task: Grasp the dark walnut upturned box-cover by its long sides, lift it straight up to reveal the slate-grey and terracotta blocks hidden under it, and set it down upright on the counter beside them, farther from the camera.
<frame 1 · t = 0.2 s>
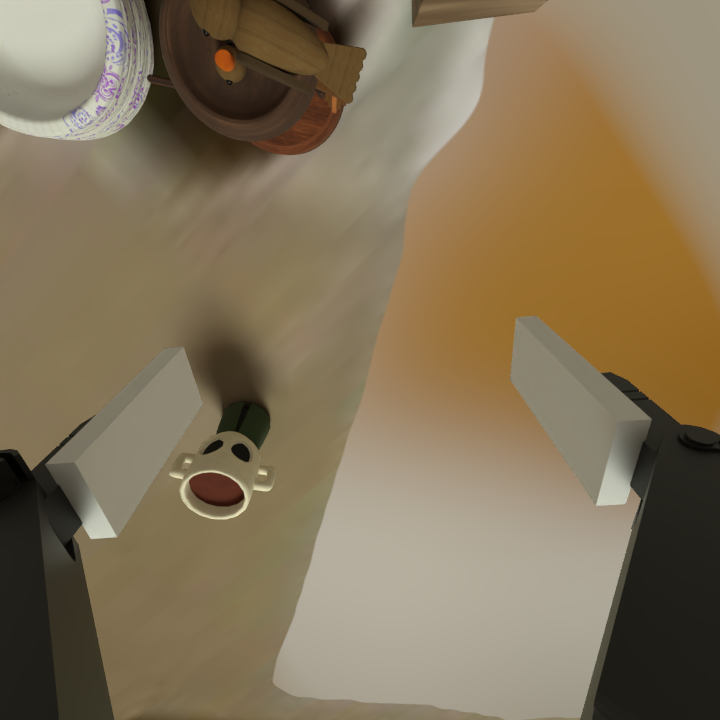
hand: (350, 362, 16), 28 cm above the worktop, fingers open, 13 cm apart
character mug: (248, 418, 51), on the worktop
music box: (278, 88, 34), on the worktop
paper bowls: (81, 40, 33), on the worktop
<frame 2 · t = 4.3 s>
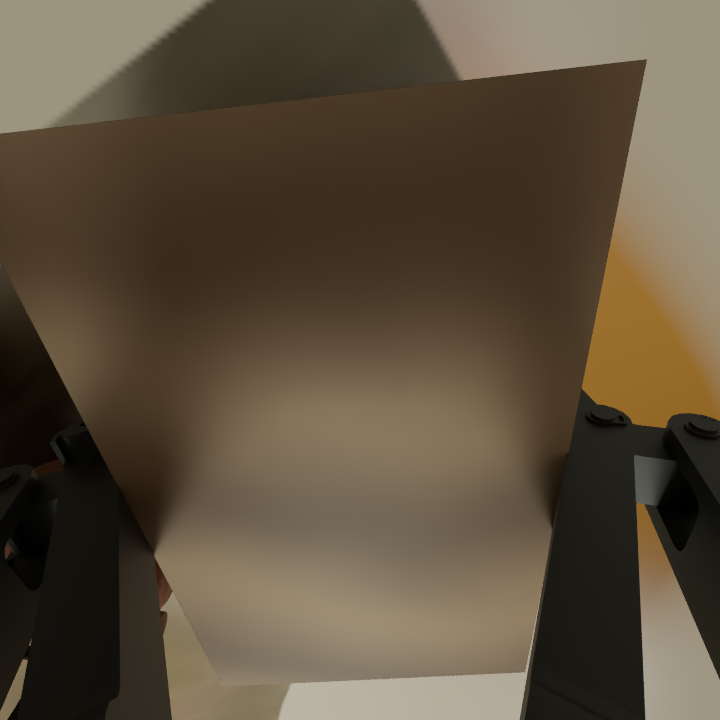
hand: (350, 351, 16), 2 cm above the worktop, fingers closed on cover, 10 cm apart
music box: (97, 519, 24), on the worktop
cover: (351, 335, 18), on the worktop, touching gripper
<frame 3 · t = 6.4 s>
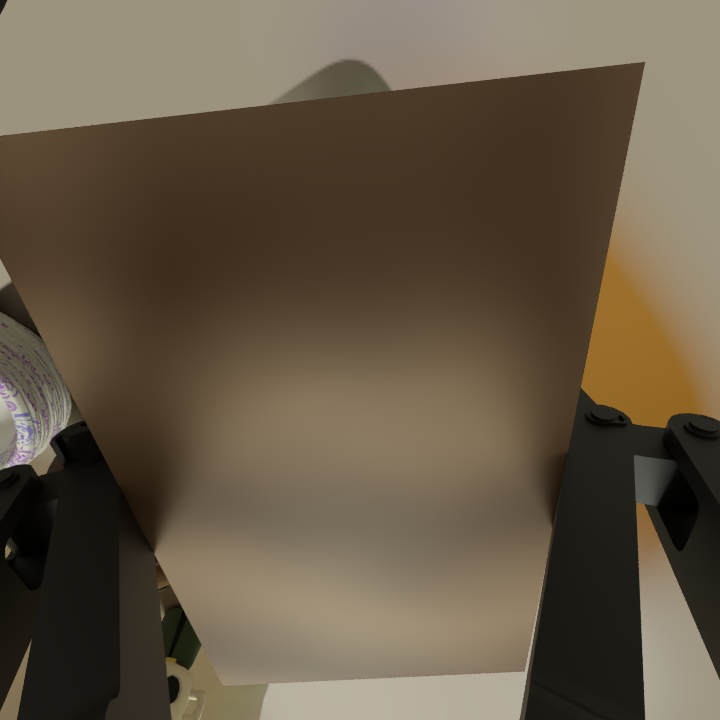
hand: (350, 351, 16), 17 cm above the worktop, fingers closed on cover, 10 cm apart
character mug: (189, 615, 54), on the worktop
music box: (194, 395, 37), on the worktop
paper bowls: (10, 362, 36), on the worktop
cover: (351, 335, 18), point 15 cm above the worktop, touching gripper
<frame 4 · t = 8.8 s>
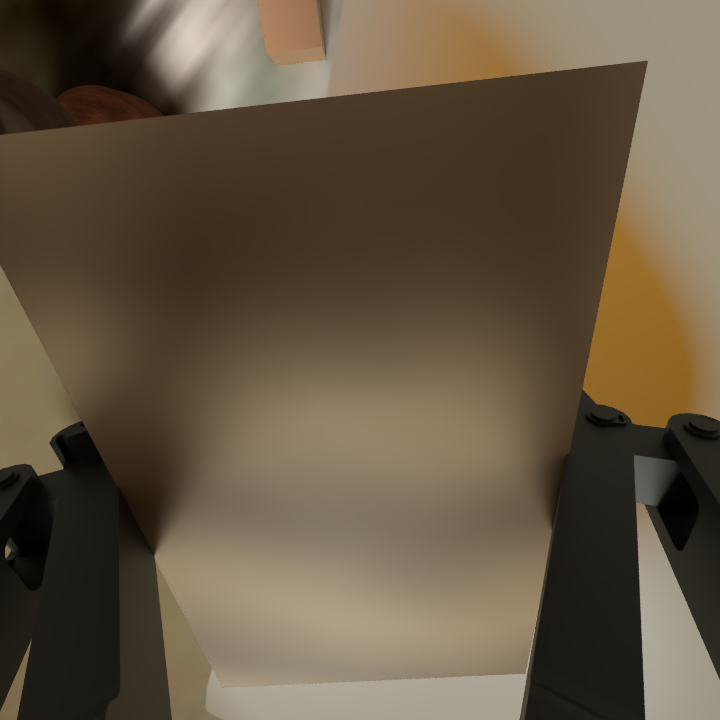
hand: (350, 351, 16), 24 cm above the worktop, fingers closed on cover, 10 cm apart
music box: (123, 161, 34), on the worktop
cover: (351, 335, 18), point 22 cm above the worktop, touching gripper
terracotta block: (297, 31, 30), on the worktop
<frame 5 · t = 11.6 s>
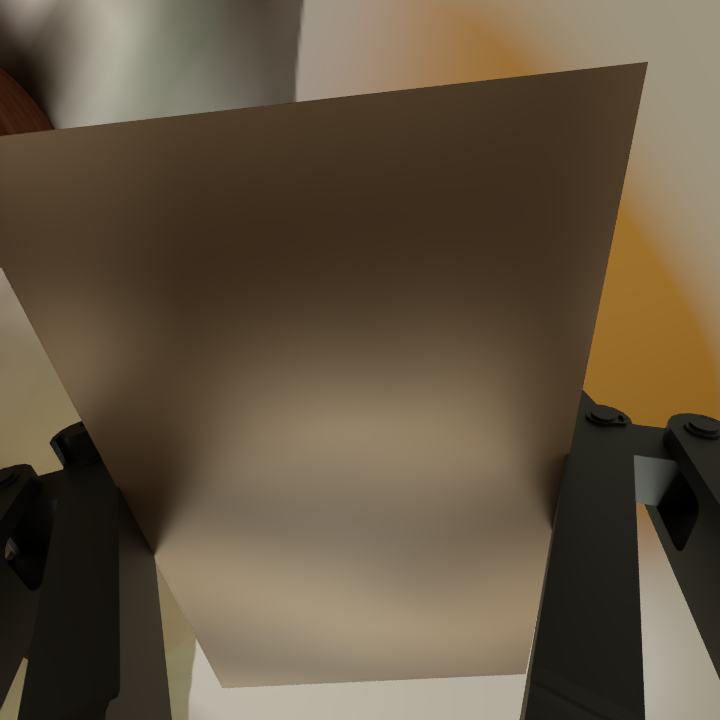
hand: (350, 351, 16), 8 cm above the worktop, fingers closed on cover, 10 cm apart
character mug: (58, 581, 37), on the worktop
cover: (351, 335, 18), point 6 cm above the worktop, touching gripper
when the fingers open (3 cm above the worktop, at t = 13.7 s): cover drops 1 cm, on the worktop.
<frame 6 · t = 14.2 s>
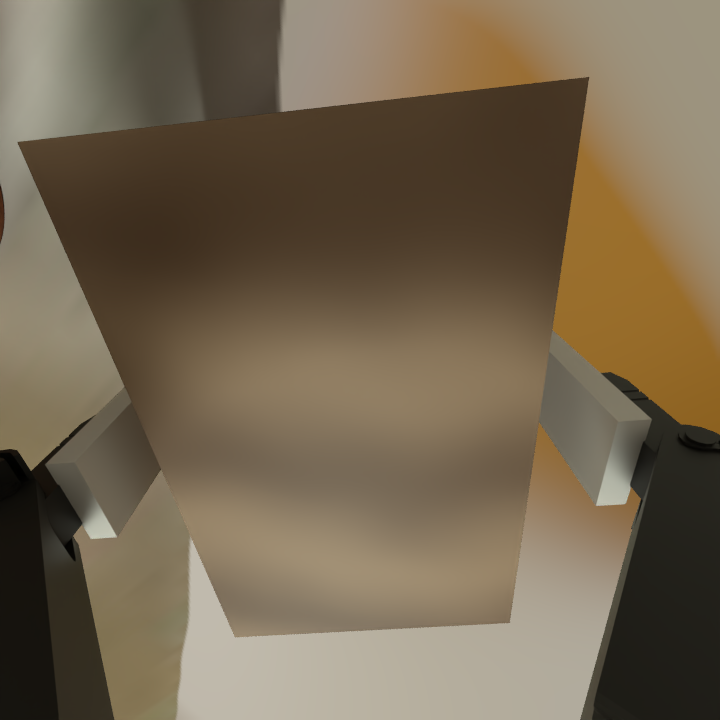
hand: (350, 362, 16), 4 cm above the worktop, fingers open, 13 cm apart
cover: (352, 322, 19), on the worktop
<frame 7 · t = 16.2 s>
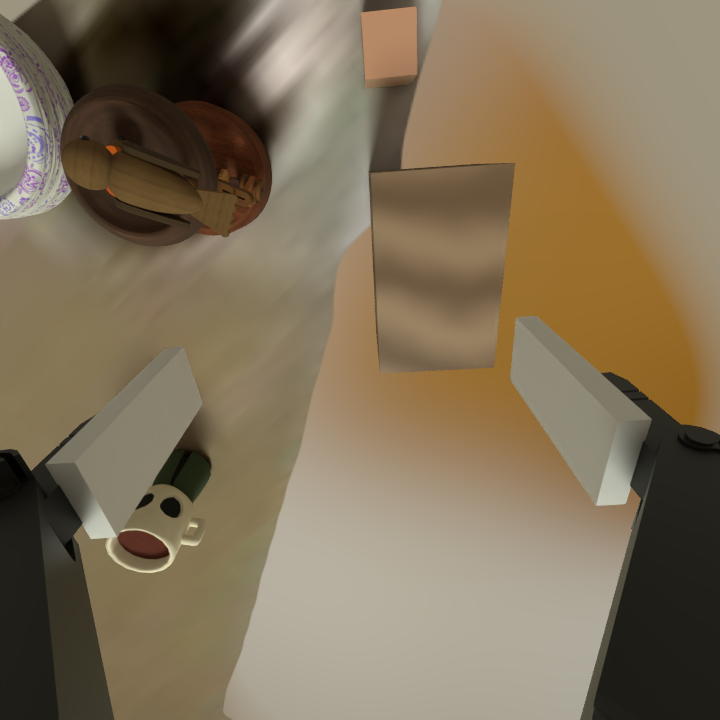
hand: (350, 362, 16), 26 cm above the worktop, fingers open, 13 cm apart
character mug: (189, 464, 52), on the worktop
music box: (208, 171, 36), on the worktop
paper bowls: (19, 122, 35), on the worktop
cover: (421, 255, 39), on the worktop
terracotta block: (387, 57, 32), on the worktop
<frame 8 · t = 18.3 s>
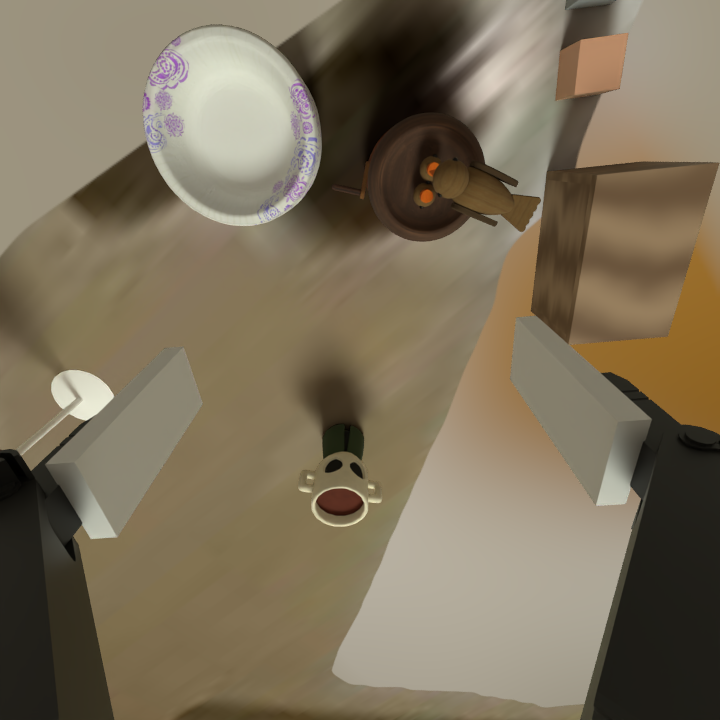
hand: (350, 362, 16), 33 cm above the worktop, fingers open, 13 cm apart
character mug: (343, 437, 59), on the worktop
wineglass: (84, 395, 55), on the worktop
music box: (407, 176, 42), on the worktop
paper bowls: (252, 139, 41), on the worktop
cover: (581, 242, 45), on the worktop
terracotta block: (578, 73, 38), on the worktop
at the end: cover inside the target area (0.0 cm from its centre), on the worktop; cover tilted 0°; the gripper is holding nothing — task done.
